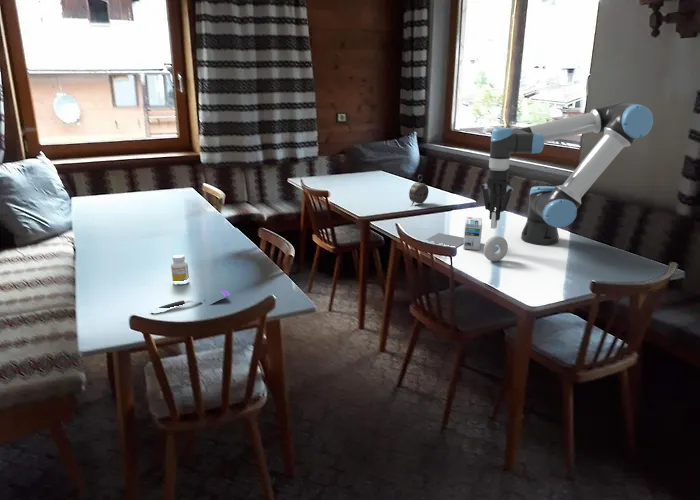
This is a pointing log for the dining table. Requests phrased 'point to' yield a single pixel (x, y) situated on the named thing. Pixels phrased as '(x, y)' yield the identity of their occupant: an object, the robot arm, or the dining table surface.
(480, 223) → the light bulb box
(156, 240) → the dining table surface
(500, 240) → the donut
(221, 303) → the dining table surface
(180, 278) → the supplement bottle
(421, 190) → the alarm clock
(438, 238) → the mat
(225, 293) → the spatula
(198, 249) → the dining table surface
